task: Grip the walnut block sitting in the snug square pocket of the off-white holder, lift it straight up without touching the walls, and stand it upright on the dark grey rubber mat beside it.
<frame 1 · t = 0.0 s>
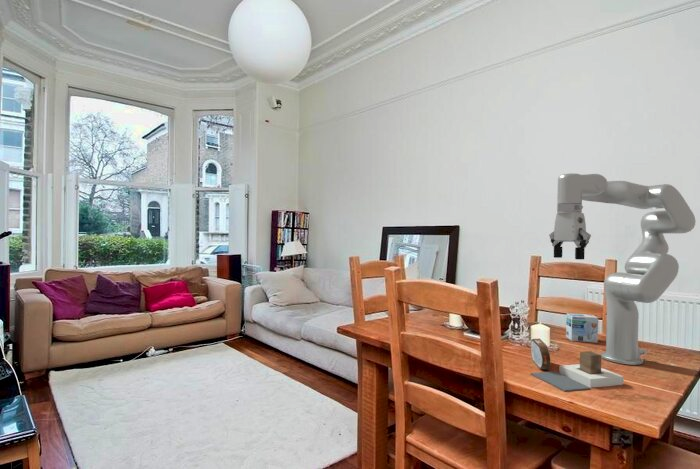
hand: (568, 258, 136), 37 cm above the table, tool pointing down, fingers open, 9 cm apart
light bulb box: (581, 340, 169), on the table
mat: (559, 381, 119), on the table
block: (590, 379, 122), resting in holder
holder: (590, 378, 122), on the table
tin: (539, 366, 134), on the table
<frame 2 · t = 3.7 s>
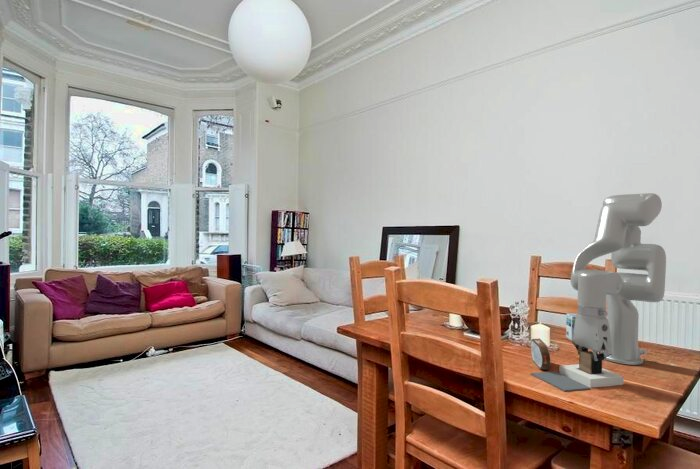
hand: (590, 369, 122), 3 cm above the table, tool pointing down, fingers closed on block, 4 cm apart
block: (590, 378, 122), resting in holder, touching gripper
everything else where it was.
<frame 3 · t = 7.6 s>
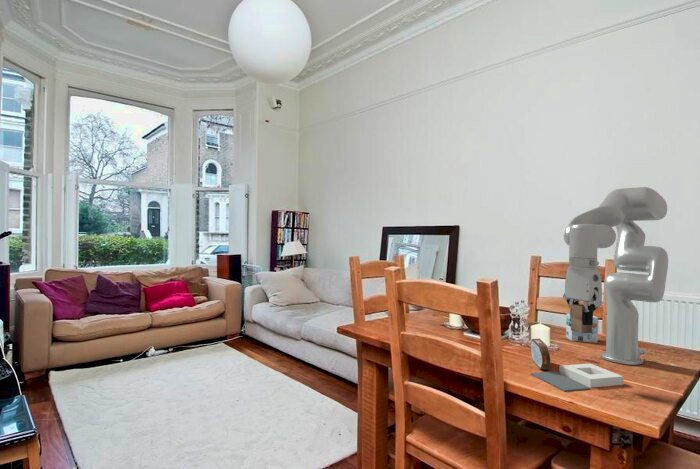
hand: (581, 322, 121), 18 cm above the table, tool pointing down, fingers closed on block, 4 cm apart
block: (581, 331, 121), point 15 cm above the table, touching gripper
everything else where it was.
when the fingers open (5 cm above the table, at t = 11.2 s): block drops 1 cm, resting on mat.
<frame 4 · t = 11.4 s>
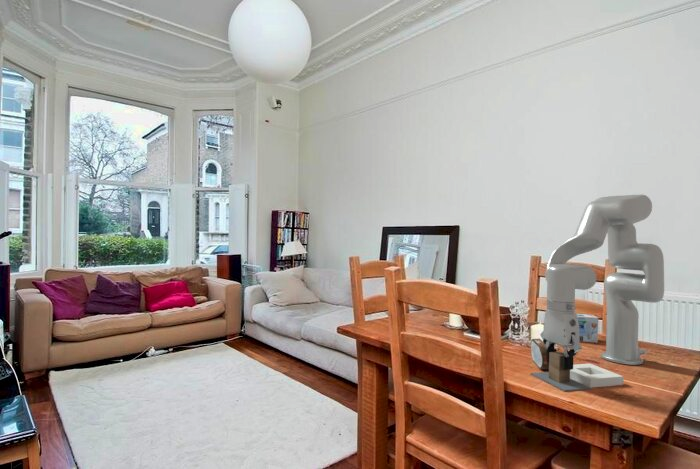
hand: (559, 365, 119), 5 cm above the table, tool pointing down, fingers open, 6 cm apart
block: (559, 379, 119), resting on mat
everything else where it was.
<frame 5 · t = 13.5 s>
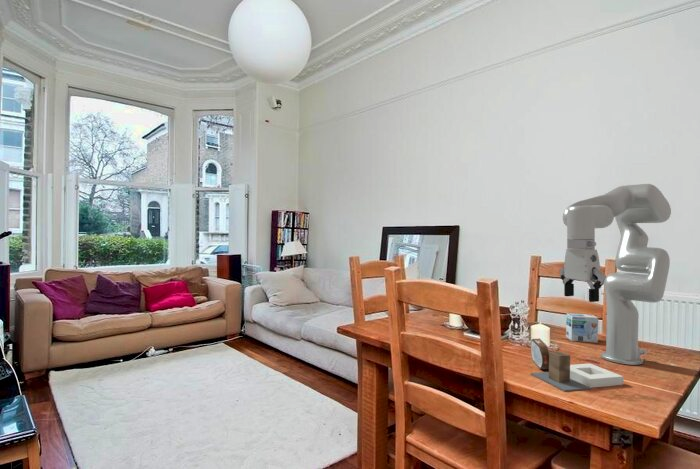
hand: (581, 298, 124), 25 cm above the table, tool pointing down, fingers open, 9 cm apart
nothing on the table moved.
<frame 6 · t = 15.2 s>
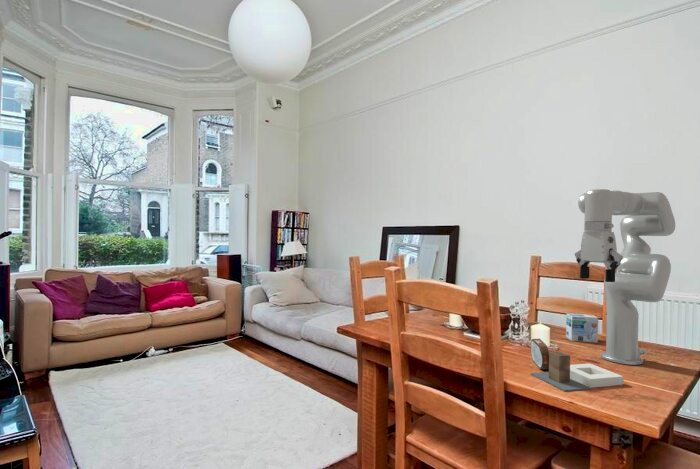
hand: (596, 280, 127), 30 cm above the table, tool pointing down, fingers open, 9 cm apart
nothing on the table moved.
at the end: block inside the target area on the mat (0.1 cm from its centre), point 0.4 cm above the mat's base; block tilted 0°; the gripper is holding nothing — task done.
